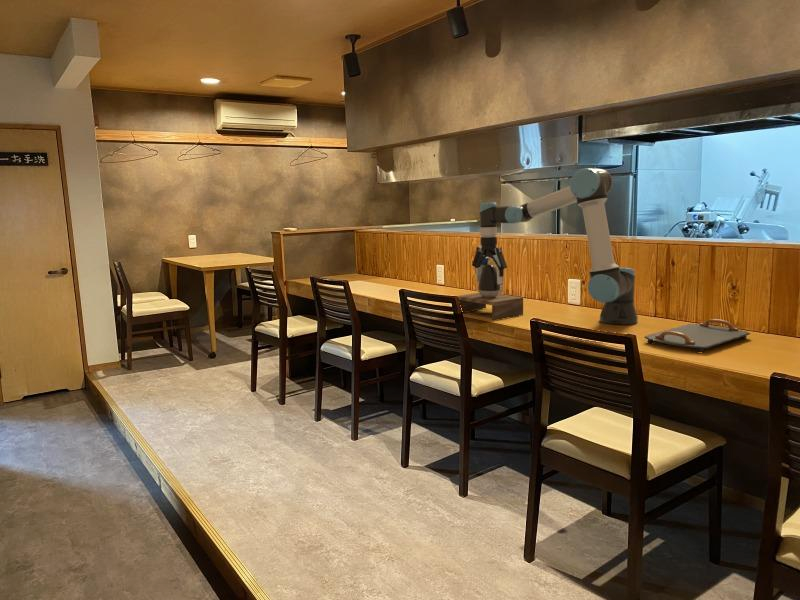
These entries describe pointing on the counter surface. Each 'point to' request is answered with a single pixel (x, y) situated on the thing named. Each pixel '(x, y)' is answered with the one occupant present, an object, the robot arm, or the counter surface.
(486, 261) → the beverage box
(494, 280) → the black rounded dome
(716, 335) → the serving board
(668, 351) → the counter surface
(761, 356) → the counter surface
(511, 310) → the walnut shelf
